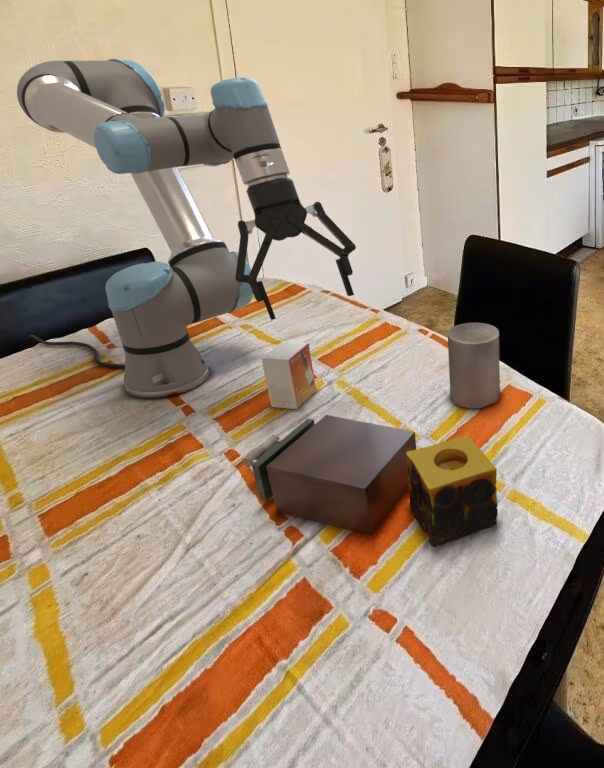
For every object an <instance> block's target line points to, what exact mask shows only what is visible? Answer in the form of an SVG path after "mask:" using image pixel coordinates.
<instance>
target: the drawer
mask: <svg viewBox="0 0 604 768" xmlns="http://www.w3.org/2000/svg"><path fill="white" fill-rule="evenodd" d="M315 424H316V423H315V419H313V418H307V419H305V420H304V421H303V422H302V423H300V424H299V425H298V426H296V427H295V428H294V429H293V430H292V431H291V432H290V433H288V434H287V435H285V437H284V438H280V436H278V435H277V434H272V435H270V436H269V437H268V438H267V439H266V440H264V441H263V442H262V443H261V444H259V445H258V446H257V447H256V448H255V449H253V450H252V451H251V452H249V454H247V455H246V456H245V457H243V458H242V462H241V463H243V465H244V466H245V467H246V468H250V467H251V469H252V473H253V476H254V481H255V484H256V485H255V486H256V488H257V493H258V497H259V501H262V502H266V503H267V502H268V501H270V499H272V498H273V493H272V489H271V485H270V480H269V476H268V471H267V468H266V466H267V465H268V464H270V463H271V462H272V461H273V460H274V459H275V458H277V457H278V456H279V455H280V454H281V453H282V452H283V451H285V450H286V449H287V448H288V447H289V446H290V445H292V444H293V443H294V442H295V441H296V440H297V439H299V438H300V437H301V436H302V435H303V434H304V433H306V432H307V431H308V430H309V429H310V428H311V427H312V426H314V425H315Z"/></svg>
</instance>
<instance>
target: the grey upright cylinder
mask: <svg viewBox="0 0 604 768" xmlns="http://www.w3.org/2000/svg"><path fill="white" fill-rule="evenodd" d="M447 349H448V350H447V351H448V352H447V353H448V373H449V375H448V376H449V396H450V400H451V402H452V403H453V404H455V405H457V406H458V407H461V408H466V409H481V408H485V407H487V406H490V405H492V404H495V403H496V402H498V401H499V398H500V396H501V394H500V392H501V391H500V390H501V381H500V380H501V379H500V377H501V376H500V375H501V374H500V372H501V371H500V330H499V329H498V328H497V327H495V326H494V325H491V324H490V323H484V322H466V323H460V324H457V325H454V326H452V327H451V328H449V330H448V331H447Z"/></svg>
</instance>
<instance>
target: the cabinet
mask: <svg viewBox="0 0 604 768" xmlns="http://www.w3.org/2000/svg"><path fill="white" fill-rule="evenodd" d="M416 440H417V439H416V432H415V431H412V430H408V429H402V428H398V427H392V426H387V425H382V424H381V425H380V424H376V423H371V422H366V421H360V420H355V419H351V418H346V417H345V418H344V417H340V416H336V415H330V414H325V415H324V416H323V417H322V418H320V419H319V420H318V421H317V422H316V423H315V425H314V426H312V427H311V428H310V429H309V430H308V431H307V432H306V433H304V434H303V435H302V436H301V437H300V438H299V439H297V440H296V441H295V442H294V443H293V444H292V445H290V446H289V447H288V448H287V449H286V450H285V451H283V452H282V453H281V454H280V455H279V456H278V457H277V458H275V459H274V460H273V461H272V462H271V463H270V464H268V465H267V466H266V468H267V471H268V476H269V480H270V485H271V489H272V493H273V496H272V498H273V501H274V502H273V503H274V507H275V511H276V513H277V514H282V515H286V516H290V517H293V518H297V519H302V520H306V521H309V522H313V523H318V524H321V525H325V526H329V527H333V528H337V529H342V530H344V531H346V530H347V531H350V532H353V533H357V534H361V535H366V536H368V537H369V536H370V537H372V536H373V535H374V534H375V533H376V531H377V530H378V529H379V528H380V526H381V525H382V523H384V521H385V520H386V518H387V517H388V516H389V514H390V513H391V512H392V510H394V508H395V507H396V506H397V504H398V503H399V502H400V500H401V499H402V498H403V496H405V494H406V493H407V492H408V489H409V477H408V464H407V456H406V452H408V451H412V450H416V449H417V441H416Z"/></svg>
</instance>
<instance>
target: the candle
mask: <svg viewBox="0 0 604 768" xmlns="http://www.w3.org/2000/svg"><path fill="white" fill-rule="evenodd" d="M406 456H407V464H408V477H409V489H408V490H407V492H408V494H409V495H408V497H409V504H408V505H409V508H410V510H411V512H412V514H413V516H414V519H415V520H416V522H417V523H418V525H419V527H420V529H421V530H422V532H424V533H426V534H427V538H428V542H429V543H430V546H431V547H432V548H437V547H439V546H444V545H446V544H448V543H453V542H455V541H457V540H461V539H465V538H466V537H468V536H472V535H473V534H477V533H478V532H479V533H480V532H482V531H483V530H487V529H491V528H493V527H495V526H497V524H498V520H497V518H498V515H499V511H498V494H497V492H498V488H497V486H496V485H497V480H498V479H497V474H498V469H497V467H496V466H495V465H494V463H492V461H491V460H490V459H489V457H487V456H486V455H485V454H484V453H483V451H482V450H481V449H480V447H479V446H478V445H477V443H475V441H474V440H473V438H472V437H471V435H467V434H466V435H463V436H459V437H456V438H453V439H449V440H446V441H442V442H438V443H434V444H432V445H428V446H424V447H421V448H416V450H412V451H408V452H406Z"/></svg>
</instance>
